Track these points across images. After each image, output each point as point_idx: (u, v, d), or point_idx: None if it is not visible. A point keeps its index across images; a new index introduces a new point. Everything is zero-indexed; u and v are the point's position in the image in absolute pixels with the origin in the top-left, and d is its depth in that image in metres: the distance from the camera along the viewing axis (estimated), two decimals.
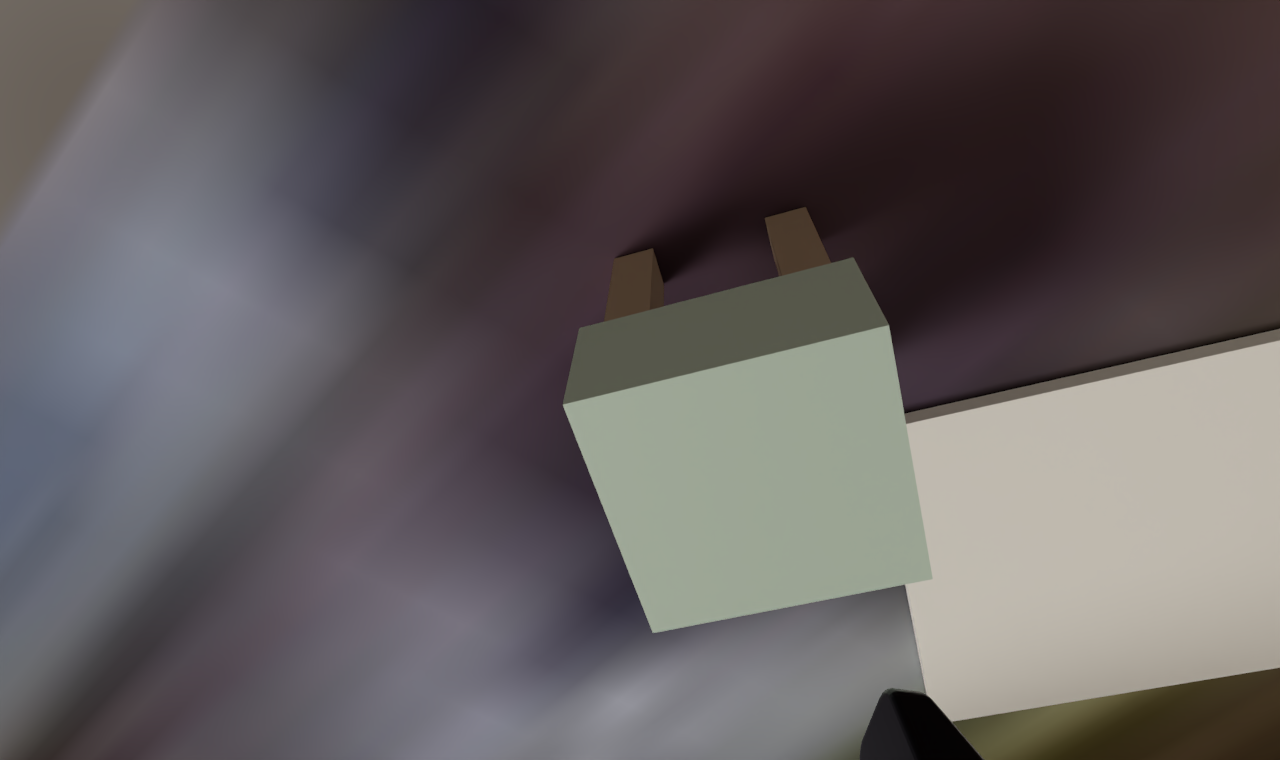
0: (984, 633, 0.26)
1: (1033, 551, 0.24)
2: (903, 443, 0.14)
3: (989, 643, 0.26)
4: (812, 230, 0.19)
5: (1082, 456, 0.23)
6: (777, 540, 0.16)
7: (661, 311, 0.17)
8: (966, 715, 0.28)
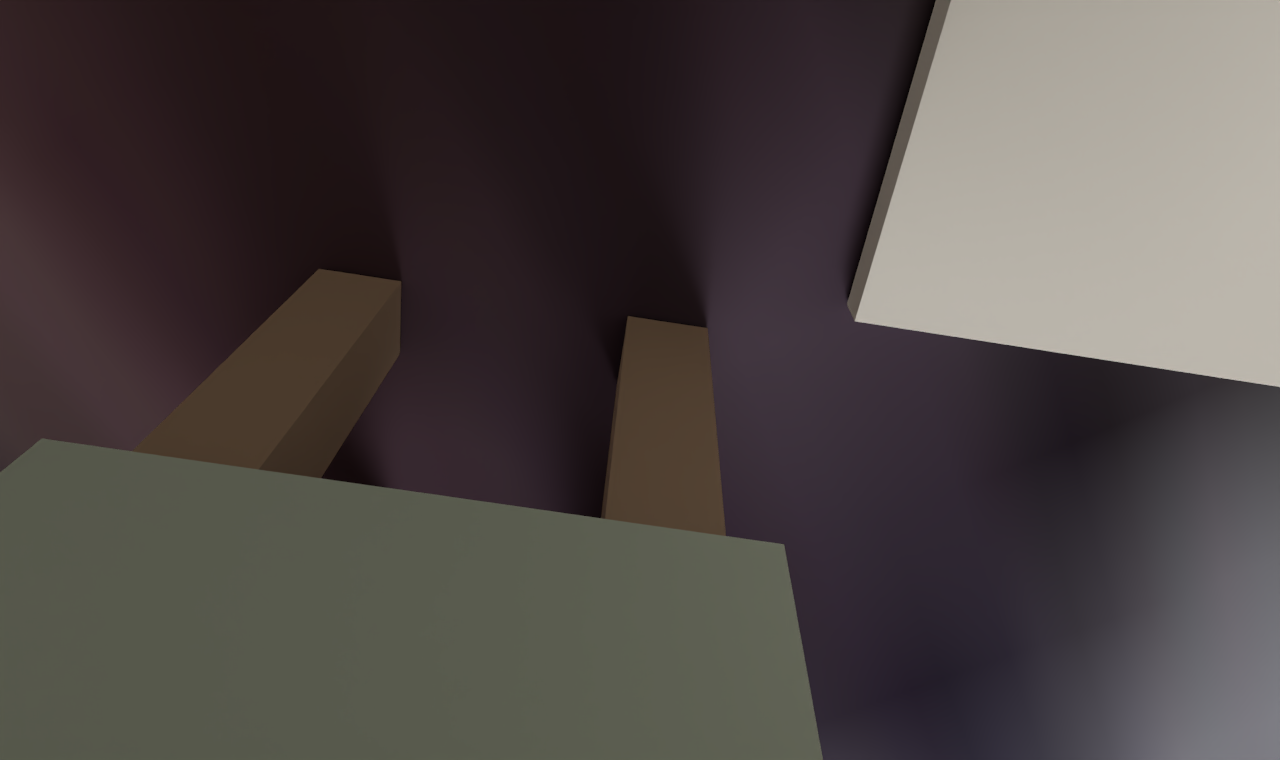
0: None
1: None
2: None
3: None
4: (261, 332, 0.09)
5: None
6: None
7: None
8: None
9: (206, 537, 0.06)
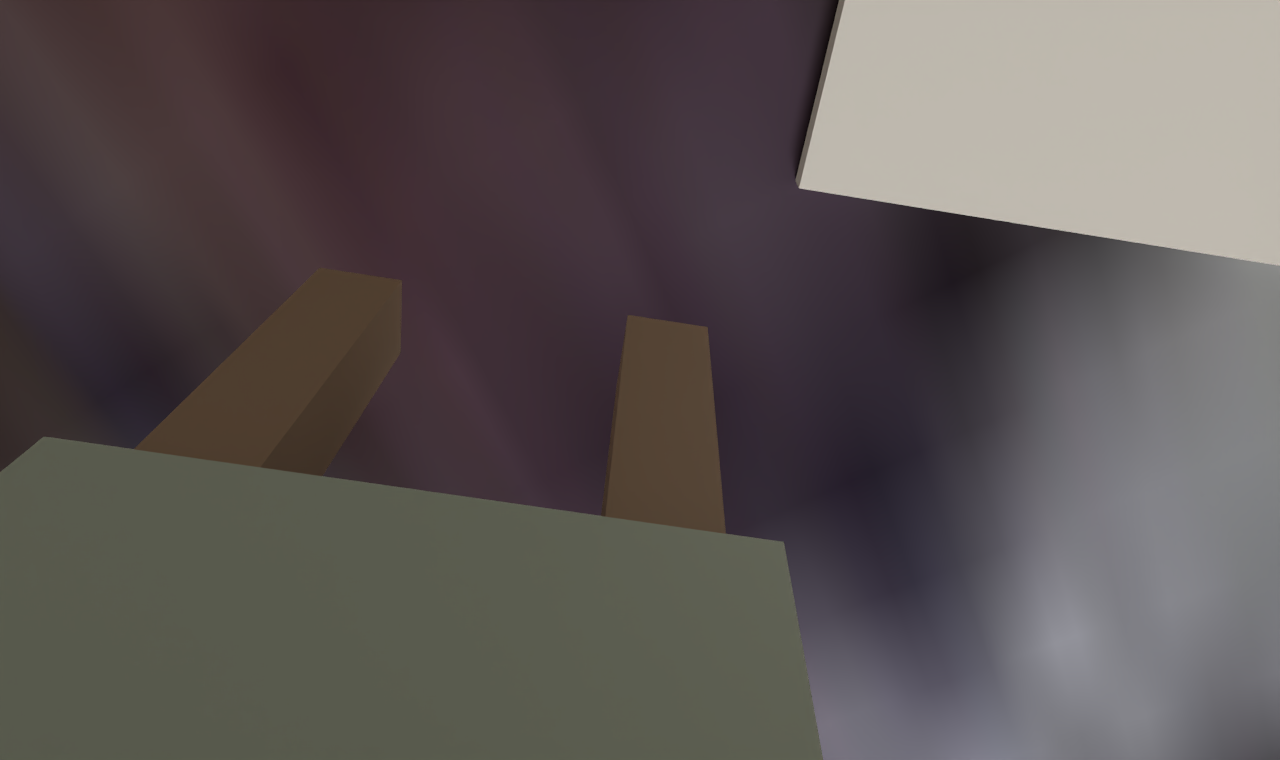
0: None
1: (1181, 15, 0.13)
2: None
3: None
4: (262, 331, 0.09)
5: None
6: None
7: None
8: None
9: (208, 534, 0.06)
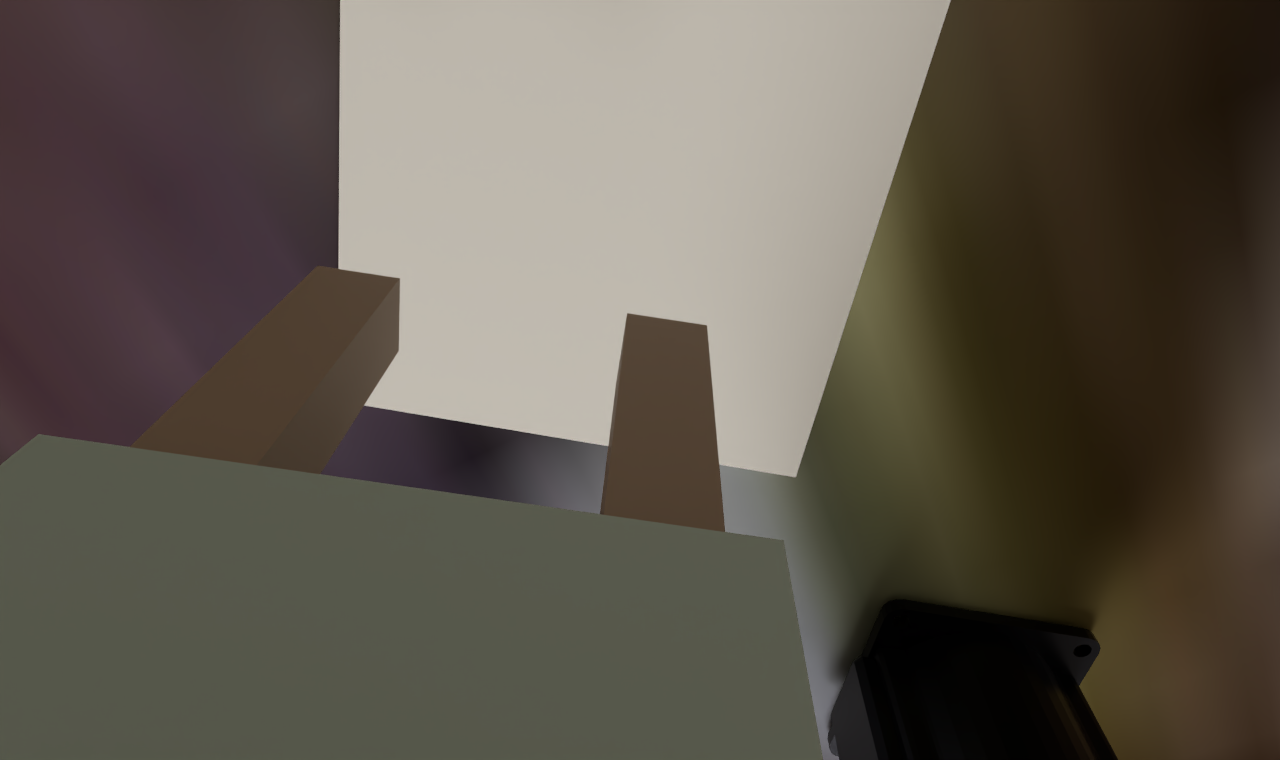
0: None
1: (561, 307, 0.20)
2: None
3: None
4: (259, 329, 0.09)
5: (438, 225, 0.19)
6: None
7: None
8: (799, 442, 0.22)
9: (203, 533, 0.06)
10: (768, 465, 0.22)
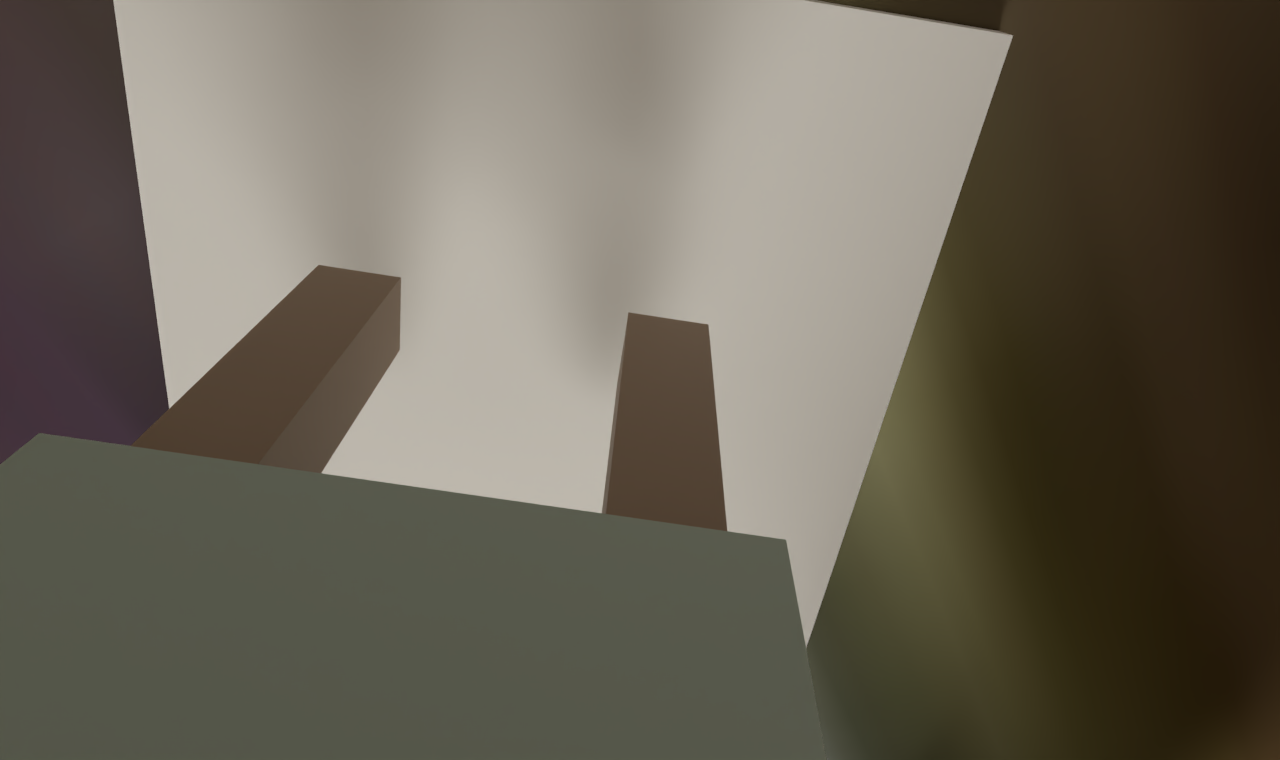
0: None
1: (475, 474, 0.15)
2: None
3: None
4: (259, 328, 0.09)
5: None
6: None
7: None
8: None
9: (204, 532, 0.05)
10: None
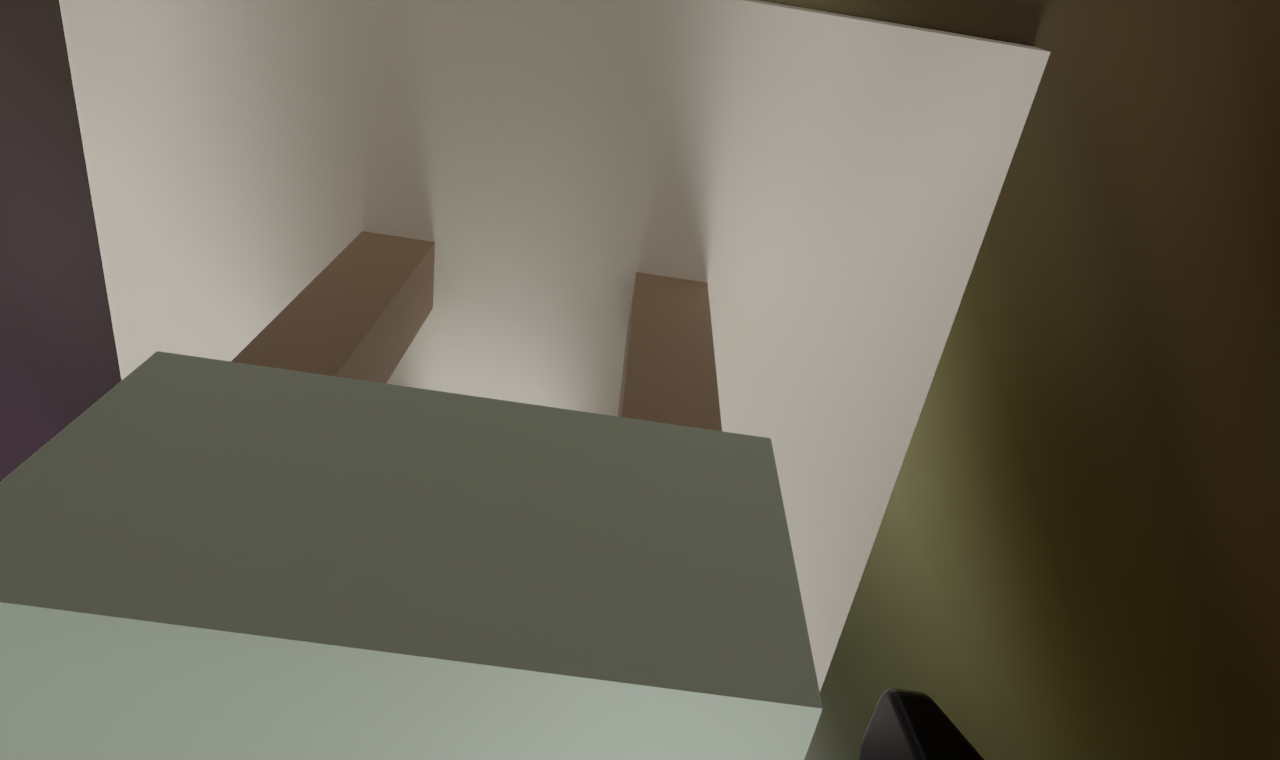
0: None
1: None
2: (282, 650, 0.05)
3: None
4: (317, 281, 0.10)
5: None
6: None
7: None
8: None
9: (300, 422, 0.07)
10: None
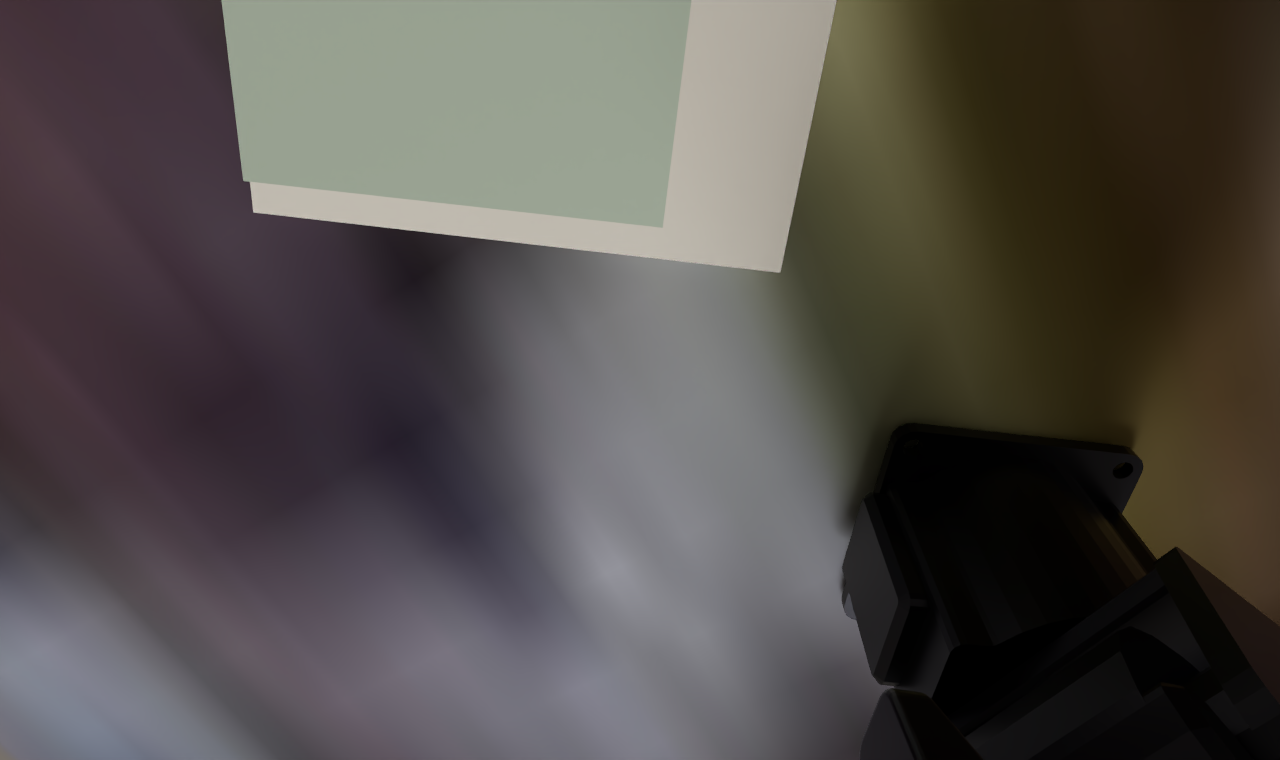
0: None
1: None
2: None
3: None
4: None
5: None
6: None
7: None
8: (781, 227, 0.19)
9: None
10: (748, 259, 0.19)
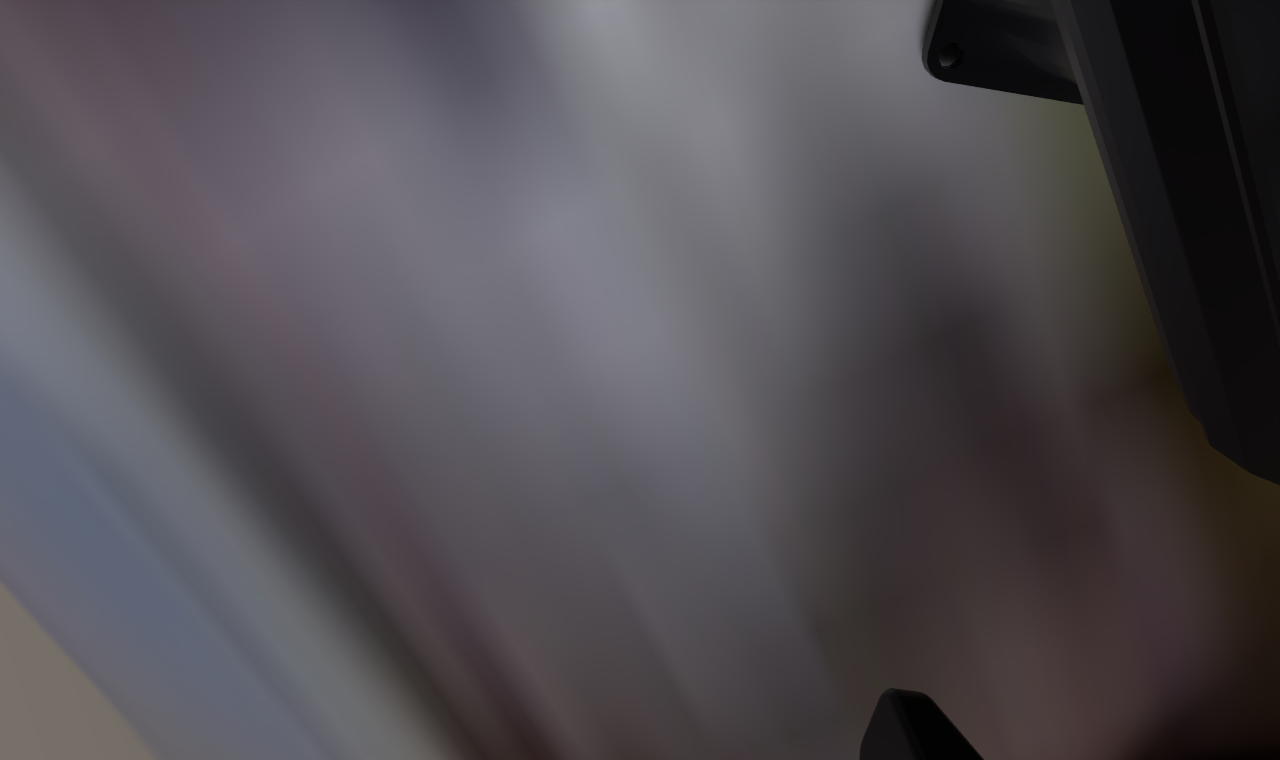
0: None
1: None
2: None
3: None
4: None
5: None
6: None
7: None
8: None
9: None
10: None
